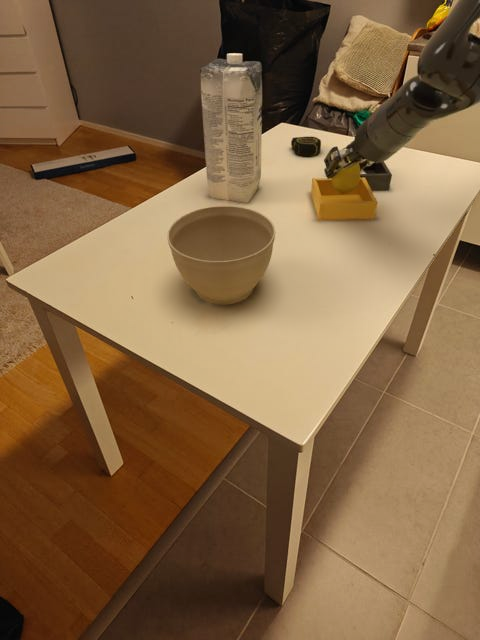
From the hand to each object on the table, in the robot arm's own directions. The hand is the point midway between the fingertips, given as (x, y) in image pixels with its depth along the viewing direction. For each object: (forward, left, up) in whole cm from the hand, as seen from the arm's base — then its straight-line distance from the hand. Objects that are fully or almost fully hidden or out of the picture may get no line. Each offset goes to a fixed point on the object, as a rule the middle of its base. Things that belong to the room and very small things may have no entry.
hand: (341, 171), depth 92 cm
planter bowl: (+23, +28, -8) cm, 37 cm away
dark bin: (-7, -10, -7) cm, 14 cm away
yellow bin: (-1, +2, -7) cm, 8 cm away
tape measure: (+3, -27, -8) cm, 29 cm away
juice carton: (+21, -5, -8) cm, 23 cm away
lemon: (-1, +2, -4) cm, 5 cm away
